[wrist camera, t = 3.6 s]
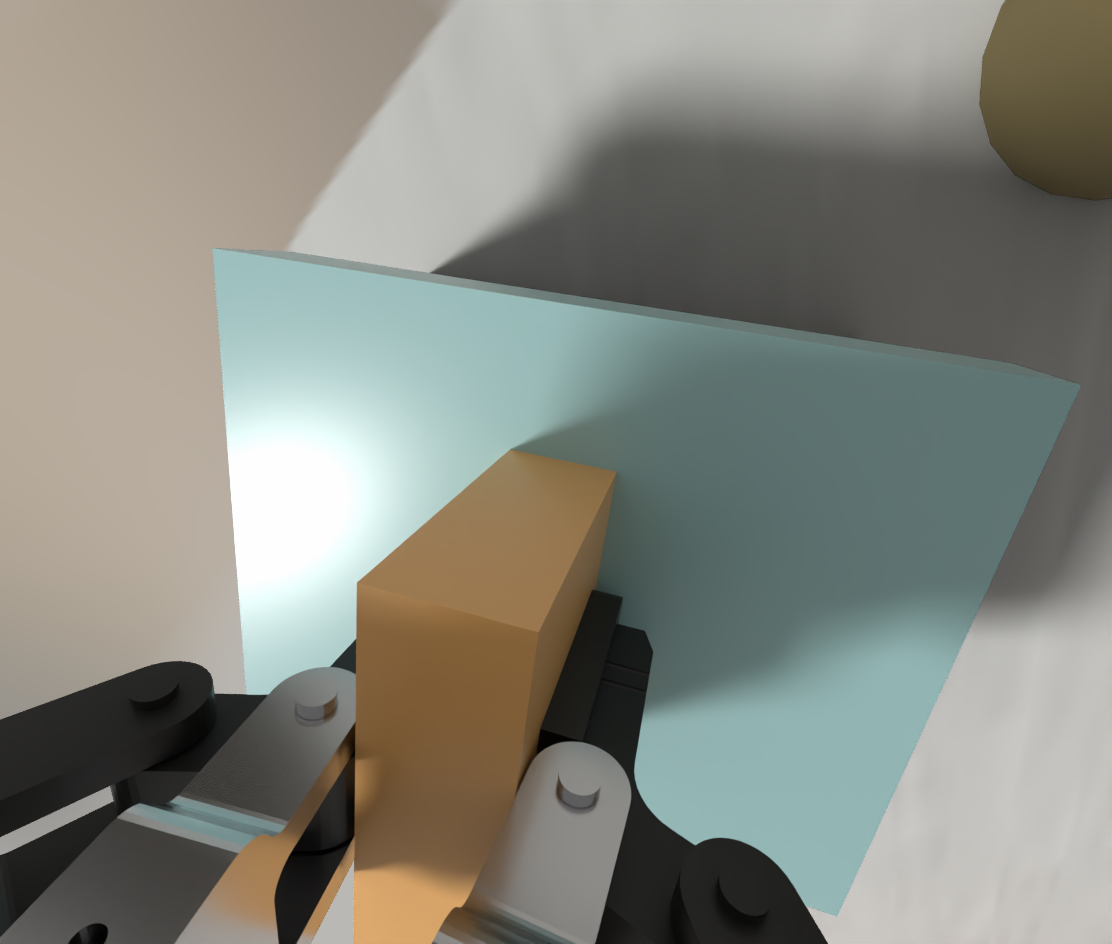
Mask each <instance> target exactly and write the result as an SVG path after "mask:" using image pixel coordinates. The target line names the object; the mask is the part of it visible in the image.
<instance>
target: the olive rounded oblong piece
mask: <svg viewBox="0 0 1112 944" xmlns="http://www.w3.org/2000/svg"><path fill="white" fill-rule="evenodd" d="M980 108H981V111H982V115H983V118H984V122H985V125H986V129H987V132H988V136H989V140H990V143H991V145H992V146H993V148H994V149H995V150H996V151H997V153H998V154H999V155H1000V156H1001V158H1002V159H1003V160H1004V161H1005V163H1006V164H1007V165H1008V166H1009V168H1010V169H1011V170H1012V171H1013V173H1014V174H1015V175H1016V176H1018V177H1020V178H1022V179H1024V180H1026V181H1027V182H1029V183H1031V184H1033V185H1035V186H1037V187H1039V188H1041V189H1042V190H1044V191H1046V192H1048V193H1050V194H1054V195H1061V196H1068V197H1076V198H1083V199H1091V200H1100V199H1106V198H1112V0H1005V2H1004V3H1003V5H1002V6H1001V9H1000V12H999V15H998V17H997V20H996V23H995V25H994V28H993V31H992V34H991V36H990V39H989V42H988V44H987V47H986V50H985V53H984V55H983V62H982V76H981V90H980Z"/></svg>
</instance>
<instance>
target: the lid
mask: <svg viewBox="0 0 1112 944" xmlns="http://www.w3.org/2000/svg"><path fill="white" fill-rule="evenodd" d="M213 262H214V274H215V288H216V301H217V314H218V327H219V341H220V354H221V366H222V380H223V392H224V407H225V420H226V432H227V446H228V458H229V472H230V485H231V497H232V511H233V523H234V538H235V551H236V563H237V576H238V590H239V604H240V616H241V630H242V643H243V656H244V668H245V682H246V694H248V695H269V694H270V692H271V691H272V690H273V689H274V688H275V687H276V686H277V685H278V684H280V683H281V682H282V681H284V680H285V679H287V678H289V677H290V676H292V675H294V674H297V673H299V672H302V671H305V670H308V669H313V668H320V667H330V666H331V665H332V664H333V663H334V662H335V661H336V660H337V659H338V658H339V656H340V655H341V654H342V653H343V652H344V651H345V650H346V649H347V648H348V647H349V646H350V645H351V644H352V643H353V641H354V640H355V639H356V726H355V844H354V944H432V942H433V940H434V938H435V936H436V934H437V932H438V930H439V929H440V927H441V925H442V923H443V922H444V920H445V918H446V917H447V915H448V914H449V913H450V911H451V910H452V909H453V908H454V907H459V908H460V907H462V906H463V904H464V903H465V902H466V900H467V898H468V896H469V895H470V893H471V890H472V888H473V886H474V884H475V882H476V880H477V878H478V876H479V873H480V871H481V869H482V867H483V865H484V863H485V861H486V859H487V856H488V854H489V852H490V850H491V848H492V846H493V844H494V841H495V839H496V837H497V835H498V833H499V831H500V829H501V826H502V824H503V822H504V820H505V818H506V816H507V814H508V811H509V809H510V807H511V805H512V803H513V801H514V799H515V797H516V794H517V792H518V790H519V788H520V786H521V784H522V782H523V779H524V777H525V775H526V773H527V771H528V769H529V767H530V765H531V763H532V761H533V760H534V758H535V757H536V754H537V747H538V740H539V733H540V728H541V725H542V722H543V720H544V717H545V714H546V712H547V709H548V706H549V704H550V701H551V698H552V696H553V693H554V690H555V688H556V685H557V682H558V680H559V677H560V674H561V672H562V669H563V666H564V663H565V661H566V658H567V655H568V653H569V650H570V647H571V645H572V642H573V639H574V637H575V634H576V631H577V629H578V626H579V623H580V621H581V618H582V615H583V613H584V610H585V607H586V604H587V602H588V599H589V596H590V594H591V591H592V590H597V591H601V592H605V593H609V594H613V595H617V596H621V597H623V603H622V608H621V613H620V618H619V623H618V624H621V625H624V626H628V627H632V628H636V629H640V630H644V631H645V632H646V635H647V637H648V640H649V642H650V645H651V647H652V650H653V657H652V663H651V669H650V675H649V681H648V687H647V693H646V699H645V705H644V711H643V717H642V723H641V729H640V735H639V741H638V747H637V753H636V759H635V768H634V774H635V781H636V785H637V788H638V790H639V793H640V795H641V797H642V799H643V800H644V802H645V804H646V805H647V807H648V808H649V809H650V810H651V812H652V813H653V814H654V815H655V816H656V817H657V818H658V819H659V820H660V821H661V822H662V823H664V824H665V825H666V826H668V827H669V828H670V829H672V830H673V831H675V832H676V833H678V834H679V835H681V836H682V837H684V838H685V839H687V840H688V841H690V842H691V843H692V844H694V845H697V844H698V843H700V842H702V841H704V840H708V839H711V838H730V839H734V840H738V841H742V842H744V843H746V844H749V845H751V846H753V847H755V848H756V849H758V850H760V851H761V852H763V853H764V854H765V855H767V856H768V857H769V858H770V859H772V860H773V861H774V862H775V863H776V864H777V865H778V866H779V867H780V868H781V869H782V871H783V872H784V873H785V874H786V875H787V877H788V878H789V880H790V881H791V883H792V884H793V886H794V887H795V889H796V891H797V892H798V894H799V896H800V897H801V899H802V901H803V902H804V904H805V906H808V907H811V908H814V909H816V910H819V911H822V912H825V913H828V914H831V915H834V916H838V913H839V911H840V909H841V907H842V905H843V902H844V900H845V898H846V896H847V894H848V892H849V889H850V887H851V885H852V883H853V881H854V879H855V876H856V874H857V872H858V870H859V868H860V866H861V863H862V861H863V859H864V857H865V855H866V853H867V850H868V848H869V846H870V844H871V842H872V839H873V837H874V835H875V833H876V831H877V829H878V826H879V824H880V822H881V820H882V818H883V816H884V813H885V811H886V809H887V807H888V805H889V803H890V800H891V798H892V796H893V794H894V792H895V789H896V787H897V785H898V783H899V781H900V779H901V776H902V774H903V772H904V770H905V768H906V766H907V763H908V761H909V759H910V757H911V755H912V753H913V750H914V748H915V746H916V744H917V742H918V739H919V737H920V735H921V733H922V731H923V729H924V726H925V724H926V722H927V720H928V718H929V716H930V713H931V711H932V709H933V707H934V705H935V703H936V700H937V698H938V696H939V694H940V692H941V689H942V687H943V685H944V683H945V681H946V679H947V676H948V674H949V672H950V670H951V668H952V666H953V663H954V661H955V659H956V657H957V655H958V653H959V650H960V648H961V646H962V644H963V642H964V640H965V637H966V635H967V633H968V631H969V629H970V626H971V624H972V622H973V620H974V618H975V616H976V613H977V611H978V609H979V607H980V605H981V603H982V600H983V598H984V596H985V594H986V592H987V590H988V587H989V585H990V583H991V581H992V579H993V576H994V574H995V572H996V570H997V568H998V566H999V563H1000V561H1001V559H1002V557H1003V555H1004V553H1005V550H1006V548H1007V546H1008V544H1009V542H1010V540H1011V537H1012V535H1013V533H1014V531H1015V529H1016V526H1017V524H1018V522H1019V520H1020V518H1021V516H1022V513H1023V511H1024V509H1025V507H1026V505H1027V503H1028V500H1029V498H1030V496H1031V494H1032V492H1033V490H1034V487H1035V485H1036V483H1037V481H1038V479H1039V477H1040V474H1041V472H1042V470H1043V468H1044V466H1045V463H1046V461H1047V459H1048V457H1049V455H1050V453H1051V450H1052V448H1053V446H1054V444H1055V442H1056V440H1057V437H1058V435H1059V433H1060V431H1061V429H1062V427H1063V424H1064V422H1065V420H1066V418H1067V416H1068V413H1069V411H1070V409H1071V407H1072V405H1073V403H1074V400H1075V398H1076V396H1077V394H1078V392H1079V390H1080V387H1081V385H1080V384H1077V383H1074V382H1071V381H1067V380H1064V379H1061V378H1058V377H1054V376H1051V375H1048V374H1045V373H1041V372H1038V371H1035V370H1032V369H1028V368H1025V367H1022V366H1019V365H1015V364H1012V363H1009V362H1002V361H996V360H989V359H983V358H976V357H970V356H963V355H957V354H951V353H944V352H938V351H931V350H925V349H918V348H912V347H905V346H899V345H892V344H886V343H879V342H873V341H866V340H860V339H853V338H847V337H840V336H834V335H827V334H821V333H814V332H808V331H801V330H795V329H788V328H782V327H775V326H769V325H762V324H756V323H749V322H743V321H736V320H730V319H724V318H717V317H711V316H704V315H698V314H691V313H685V312H678V311H672V310H665V309H659V308H652V307H646V306H639V305H633V304H626V303H620V302H613V301H607V300H600V299H594V298H587V297H581V296H574V295H568V294H561V293H555V292H548V291H542V290H535V289H529V288H522V287H516V286H509V285H503V284H496V283H490V282H484V281H477V280H471V279H464V278H458V277H451V276H445V275H438V274H432V273H425V272H419V271H412V270H406V269H399V268H393V267H386V266H380V265H373V264H367V263H360V262H354V261H347V260H341V259H334V258H328V257H321V256H315V255H308V254H302V253H295V252H285V251H263V250H242V249H241V250H240V249H221V248H213Z"/></svg>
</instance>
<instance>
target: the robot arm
mask: <svg viewBox="0 0 1112 944" xmlns="http://www.w3.org/2000/svg"><path fill="white" fill-rule="evenodd" d="M622 603H623V597H621V596H617V595H613V594H609V593H605V592H601V591H597V590H592V591H591V594H590V596H589V599H588V602H587V604H586V607H585V610H584V613H583V615H582V618H581V621H580V623H579V626H578V629H577V631H576V634H575V637H574V639H573V642H572V645H571V647H570V650H569V653H568V655H567V658H566V661H565V663H564V666H563V669H562V672H561V674H560V677H559V680H558V682H557V685H556V688H555V690H554V693H553V696H552V698H551V701H550V704H549V706H548V709H547V712H546V714H545V717H544V720H543V722H542V725H541V728H540V733H539V740H538V747H537V754H536V757H535V758H534V760H533V761H532V763H531V765H530V767H529V769H528V771H527V773H526V775H525V777H524V779H523V782H522V784H521V786H520V788H519V790H518V792H517V794H516V797H515V799H514V801H513V803H512V805H511V807H510V809H509V811H508V814H507V816H506V818H505V820H504V822H503V824H502V826H501V829H500V831H499V833H498V835H497V837H496V839H495V841H494V844H493V846H492V848H491V850H490V852H489V854H488V856H487V859H486V861H485V863H484V865H483V867H482V869H481V871H480V873H479V876H478V878H477V880H476V882H475V884H474V886H473V888H472V890H471V893H470V895H469V896H468V898H467V900H466V902H465V903H464V904H463V906H462V907H460V908H459V907H454V908H453V909H452V910H451V911H450V913H449V914H448V915H447V917H446V918H445V920H444V922H443V923H442V925H441V927H440V929H439V930H438V932H437V934H436V936H435V938H434V940H433V942H432V944H828V943H827V941H826V940H825V938H824V936H823V934H822V933H821V931H820V929H819V928H818V926H817V924H816V923H815V921H814V919H813V918H812V916H811V914H810V913H809V911H808V909H807V908H806V906H805V904H804V902H803V901H802V899H801V897H800V896H799V894H798V892H797V891H796V889H795V887H794V886H793V884H792V883H791V881H790V880H789V878H788V877H787V875H786V874H785V873H784V872H783V871H782V869H781V868H780V867H779V866H778V865H777V864H776V863H775V862H774V861H773V860H772V859H770V858H769V857H768V856H767V855H765V854H764V853H763V852H761V851H760V850H758V849H756V848H755V847H753V846H751V845H749V844H746V843H744V842H742V841H738V840H734V839H730V838H711V839H708V840H704V841H702V842H700V843H698V844H697V845H694V844H692V843H691V842H690V841H688V840H687V839H685V838H684V837H682V836H681V835H679V834H678V833H676V832H675V831H673V830H672V829H670V828H669V827H668V826H666V825H665V824H664V823H662V822H661V821H660V820H659V819H658V818H657V817H656V816H655V815H654V814H653V813H652V812H651V810H650V809H649V808H648V807H647V805H646V804H645V802H644V800H643V799H642V797H641V795H640V793H639V790H638V788H637V785H636V781H635V774H634V768H635V759H636V753H637V747H638V741H639V735H640V729H641V723H642V717H643V711H644V705H645V699H646V693H647V687H648V681H649V675H650V669H651V663H652V657H653V650H652V647H651V645H650V642H649V640H648V637H647V635H646V632H645V631H644V630H640V629H636V628H632V627H628V626H624V625H621V624H618V623H619V618H620V613H621V608H622ZM355 726H356V639H355V640H354V641H353V643H352V644H351V645H350V646H349V647H348V648H347V649H346V650H345V651H344V652H343V653H342V654H341V655H340V656H339V658H338V659H337V660H336V661H335V662H334V663H333V664H332V665H331V666H330V667H320V668H313V669H308V670H305V671H302V672H299V673H297V674H294V675H292V676H290V677H289V678H287V679H285V680H284V681H282V682H281V683H280V684H278V685H277V686H276V687H275V688H274V689H273V690H272V691H271V692H270V694H269V695H248V694H245V695H244V694H214V686H213V679H212V677H211V674H210V673H209V672H208V670H207V669H205V668H203V667H202V666H200V665H198V664H195V663H191V662H183V661H173V662H163V663H158V664H154V665H150V666H147V667H144V668H141V669H138V670H135V671H133V672H130V673H127V674H124V675H122V676H119V677H116V678H113V679H111V680H108V681H105V682H102V683H100V684H97V685H94V686H92V687H89V688H86V689H83V690H80V691H78V692H75V693H72V694H70V695H67V696H64V697H61V698H59V699H56V700H53V701H50V702H48V703H45V704H42V705H39V706H37V707H34V708H31V709H28V710H26V711H23V712H20V713H17V714H15V715H12V716H9V717H6V718H4V719H1V720H0V837H1V836H4V835H5V834H8V833H10V832H12V831H14V830H16V829H19V828H21V827H23V826H25V825H27V824H29V823H31V822H34V821H36V820H38V819H40V818H42V817H44V816H46V815H48V814H51V813H53V812H55V811H57V810H59V809H61V808H63V807H66V806H68V805H70V804H72V803H74V802H76V801H78V800H80V799H83V798H85V797H87V796H89V795H91V794H93V793H96V792H98V791H100V790H102V789H104V788H106V787H108V786H110V788H111V792H112V796H113V800H114V801H113V802H111V803H110V804H107V805H105V806H103V807H101V808H99V809H97V810H95V811H93V812H91V813H89V814H87V815H85V816H83V817H81V818H78V819H77V820H74V821H72V822H70V823H68V824H66V825H64V826H62V827H60V828H58V829H56V830H54V831H52V832H49V833H47V834H45V835H43V836H41V837H39V838H37V839H35V840H33V841H31V842H29V843H27V844H25V845H23V846H21V847H18V848H16V849H14V850H12V851H10V852H8V853H5V854H2V855H0V944H311V942H312V940H313V939H314V936H315V934H316V933H317V931H318V929H319V927H320V925H321V923H322V921H323V919H324V917H325V915H326V913H327V911H328V909H329V908H330V906H331V904H332V902H333V900H334V898H335V896H336V894H337V892H338V890H339V888H340V886H341V884H342V882H343V880H344V878H345V877H346V875H347V873H348V871H349V869H350V867H351V865H352V863H353V861H354V844H355Z"/></svg>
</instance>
